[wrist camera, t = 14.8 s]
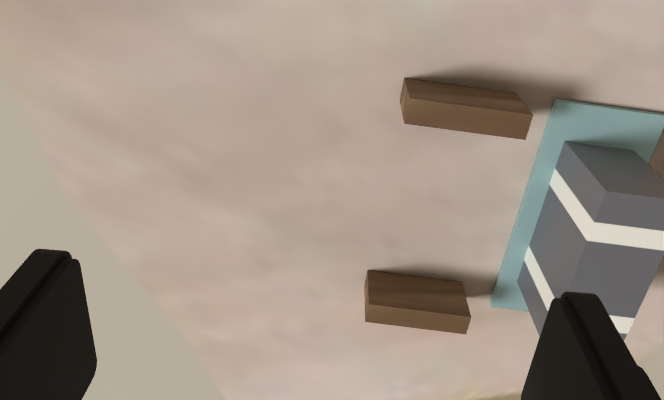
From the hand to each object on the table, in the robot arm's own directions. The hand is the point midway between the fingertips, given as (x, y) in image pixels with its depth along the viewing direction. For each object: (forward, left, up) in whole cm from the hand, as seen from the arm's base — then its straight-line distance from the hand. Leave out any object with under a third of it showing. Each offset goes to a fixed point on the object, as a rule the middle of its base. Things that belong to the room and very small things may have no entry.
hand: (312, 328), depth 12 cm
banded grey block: (+10, +17, -26) cm, 33 cm away
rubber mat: (+10, +17, -26) cm, 33 cm away
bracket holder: (+10, +8, -26) cm, 29 cm away
